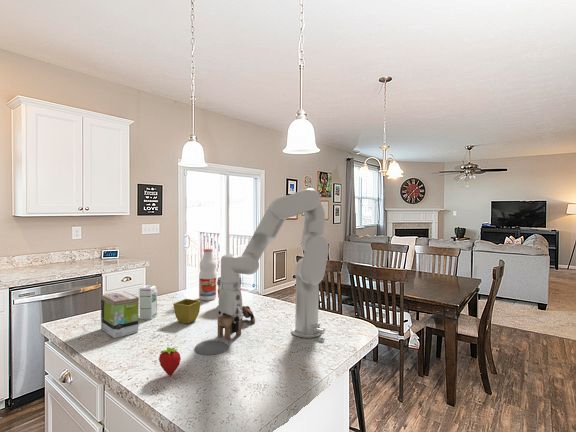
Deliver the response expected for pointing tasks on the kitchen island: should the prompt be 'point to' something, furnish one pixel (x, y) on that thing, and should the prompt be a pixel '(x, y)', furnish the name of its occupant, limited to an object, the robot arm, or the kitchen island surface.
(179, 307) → the flower pot
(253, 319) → the brown curved piece
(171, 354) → the strawberry
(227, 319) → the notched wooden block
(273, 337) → the kitchen island surface
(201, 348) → the mat
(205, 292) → the white plastic bottle
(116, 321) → the tea box
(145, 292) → the syrup box
